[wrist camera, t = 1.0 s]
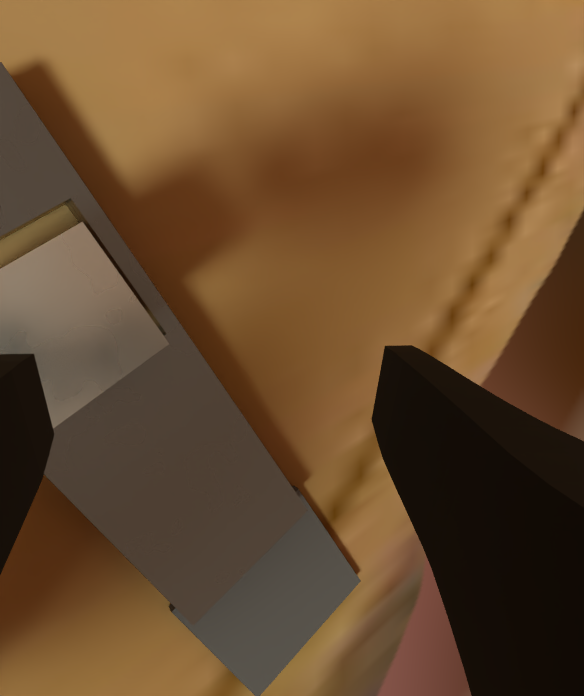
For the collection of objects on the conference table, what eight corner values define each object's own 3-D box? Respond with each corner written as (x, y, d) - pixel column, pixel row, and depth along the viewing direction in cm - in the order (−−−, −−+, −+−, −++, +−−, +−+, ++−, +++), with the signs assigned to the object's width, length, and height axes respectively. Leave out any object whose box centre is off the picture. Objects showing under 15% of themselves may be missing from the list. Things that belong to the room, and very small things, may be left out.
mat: (253, 691, 28) (257, 698, 28) (168, 606, 24) (171, 612, 24) (355, 576, 31) (360, 580, 31) (293, 485, 28) (298, 488, 27)
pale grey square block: (35, 386, 20) (46, 433, 14) (-45, 297, 18) (-70, 309, 12) (124, 324, 21) (169, 344, 16) (59, 237, 20) (82, 221, 14)
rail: (181, 604, 25) (193, 625, 23) (-231, 179, 15) (-258, 168, 14) (291, 497, 28) (308, 510, 26) (1, 80, 18) (1, 62, 16)
